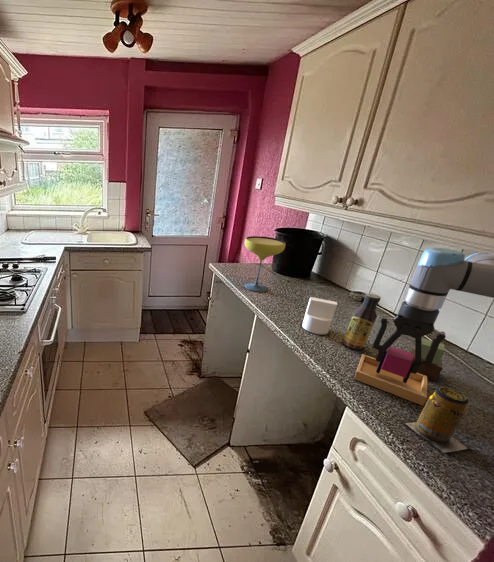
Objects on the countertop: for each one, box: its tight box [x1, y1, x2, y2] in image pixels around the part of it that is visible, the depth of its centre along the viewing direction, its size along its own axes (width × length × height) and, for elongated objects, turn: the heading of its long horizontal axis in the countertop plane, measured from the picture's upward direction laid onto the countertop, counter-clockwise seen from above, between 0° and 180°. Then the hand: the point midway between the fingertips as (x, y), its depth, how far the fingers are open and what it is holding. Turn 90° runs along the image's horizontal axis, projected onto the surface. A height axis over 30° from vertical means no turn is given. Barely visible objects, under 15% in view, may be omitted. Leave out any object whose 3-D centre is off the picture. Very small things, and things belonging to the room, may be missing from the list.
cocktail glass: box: [243, 235, 286, 293], centre depth 155 cm, size 18×18×25 cm
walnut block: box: [410, 348, 443, 382], centre depth 97 cm, size 7×7×5 cm
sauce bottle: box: [342, 292, 381, 351], centre depth 107 cm, size 6×6×20 cm
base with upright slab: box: [301, 296, 338, 336], centre depth 120 cm, size 9×9×12 cm
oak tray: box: [353, 353, 428, 407], centre depth 93 cm, size 16×13×3 cm
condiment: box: [404, 386, 469, 453], centre depth 72 cm, size 7×8×12 cm
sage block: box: [421, 337, 446, 365], centre depth 96 cm, size 5×5×5 cm
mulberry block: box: [381, 346, 413, 378], centre depth 90 cm, size 6×6×6 cm
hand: (391, 375), depth 92 cm, fingers closed on mulberry block, 5 cm apart
